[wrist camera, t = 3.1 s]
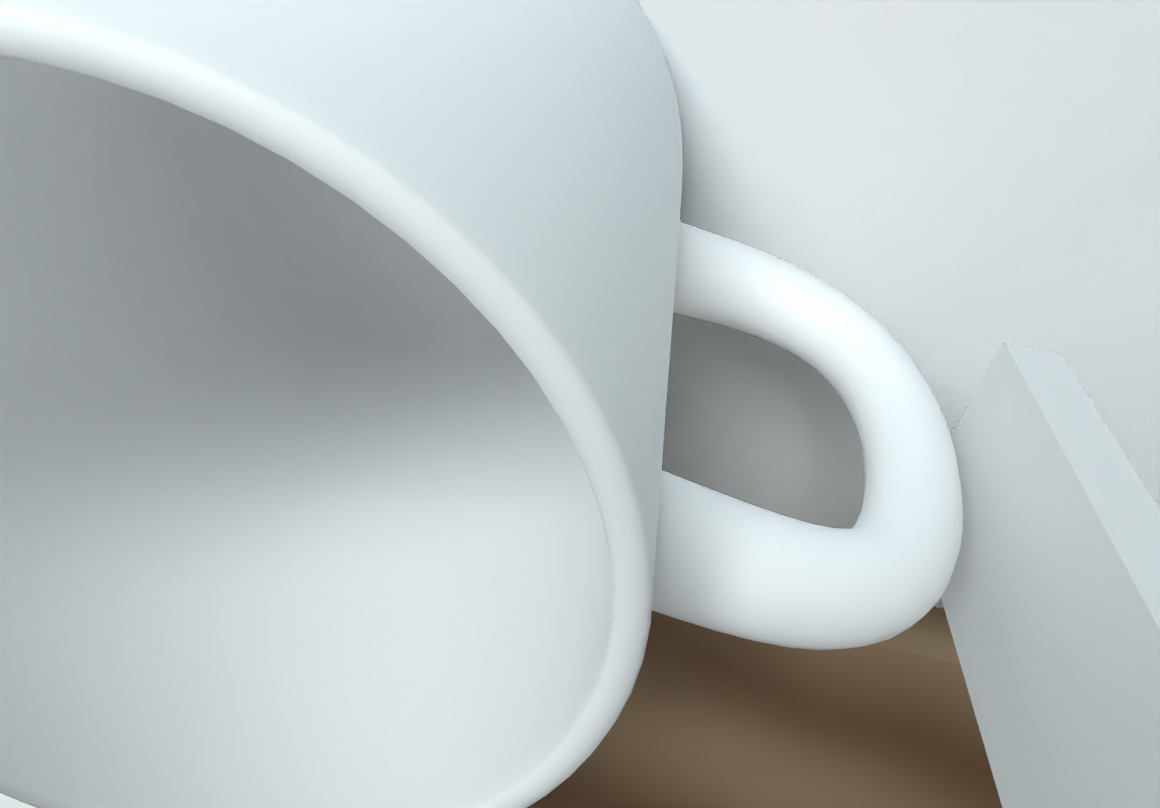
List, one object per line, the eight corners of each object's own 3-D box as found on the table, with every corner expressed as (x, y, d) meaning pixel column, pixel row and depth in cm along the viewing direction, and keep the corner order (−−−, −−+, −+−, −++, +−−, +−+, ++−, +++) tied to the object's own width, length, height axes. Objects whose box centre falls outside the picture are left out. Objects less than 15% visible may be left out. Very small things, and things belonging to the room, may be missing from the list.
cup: (194, -224, 13) (-732, -206, 5) (1004, 20, 14) (1472, 423, 5) (192, 285, 18) (-269, 743, 9) (791, 450, 18) (858, 1022, 10)
